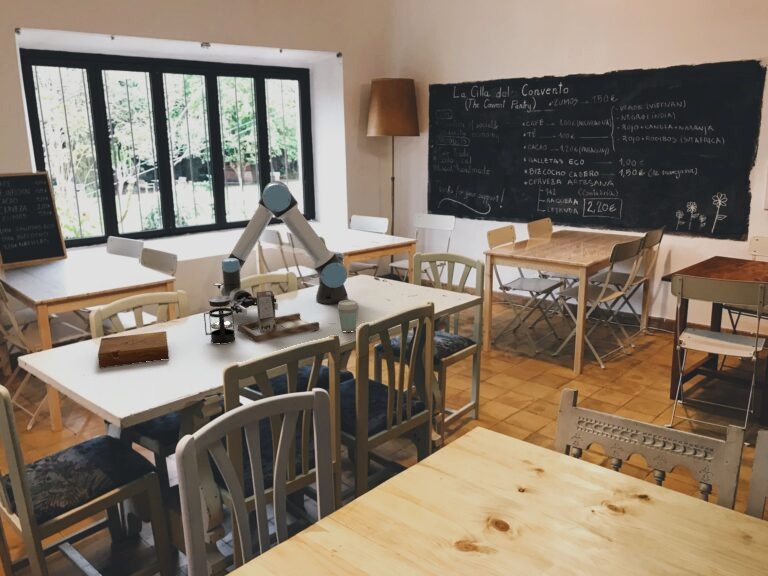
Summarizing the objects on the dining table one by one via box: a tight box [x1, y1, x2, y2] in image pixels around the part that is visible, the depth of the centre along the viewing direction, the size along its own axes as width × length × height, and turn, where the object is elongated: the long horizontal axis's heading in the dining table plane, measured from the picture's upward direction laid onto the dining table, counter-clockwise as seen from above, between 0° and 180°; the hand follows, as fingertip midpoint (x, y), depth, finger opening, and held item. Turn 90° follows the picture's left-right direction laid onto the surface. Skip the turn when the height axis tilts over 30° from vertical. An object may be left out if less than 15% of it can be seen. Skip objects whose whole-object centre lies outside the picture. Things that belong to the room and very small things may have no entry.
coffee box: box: [255, 290, 277, 334], centre depth 256 cm, size 9×6×16 cm
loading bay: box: [237, 312, 320, 342], centre depth 261 cm, size 28×18×2 cm, turn 125°
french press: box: [203, 282, 236, 345], centre depth 246 cm, size 12×9×23 cm
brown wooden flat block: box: [97, 331, 170, 369], centre depth 233 cm, size 23×19×6 cm
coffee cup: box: [336, 299, 359, 332], centre depth 257 cm, size 9×8×12 cm
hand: (261, 309), depth 258 cm, fingers open, 13 cm apart
